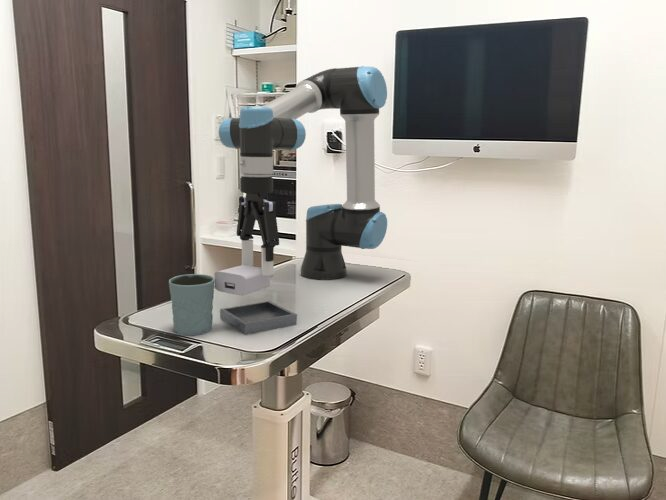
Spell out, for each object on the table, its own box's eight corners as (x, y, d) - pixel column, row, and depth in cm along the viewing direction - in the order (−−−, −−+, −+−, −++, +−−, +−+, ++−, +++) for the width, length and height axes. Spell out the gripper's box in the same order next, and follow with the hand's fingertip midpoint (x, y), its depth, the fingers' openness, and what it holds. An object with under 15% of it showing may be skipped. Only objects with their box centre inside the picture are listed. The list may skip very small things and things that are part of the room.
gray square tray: (269, 310, 143) (269, 300, 143) (296, 324, 133) (296, 314, 132) (220, 318, 136) (220, 309, 135) (245, 334, 125) (245, 324, 124)
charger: (285, 283, 136) (245, 296, 123) (256, 278, 140) (214, 290, 128) (285, 264, 135) (245, 276, 122) (255, 259, 140) (214, 270, 127)
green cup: (207, 320, 135) (205, 272, 132) (222, 332, 126) (221, 281, 124) (165, 326, 129) (163, 277, 127) (178, 340, 121) (176, 286, 119)
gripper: (221, 173, 134) (223, 263, 138) (265, 178, 116) (265, 282, 121) (249, 172, 138) (250, 260, 143) (295, 178, 121) (294, 277, 125)
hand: (257, 270), depth 132 cm, fingers closed on charger, 9 cm apart
